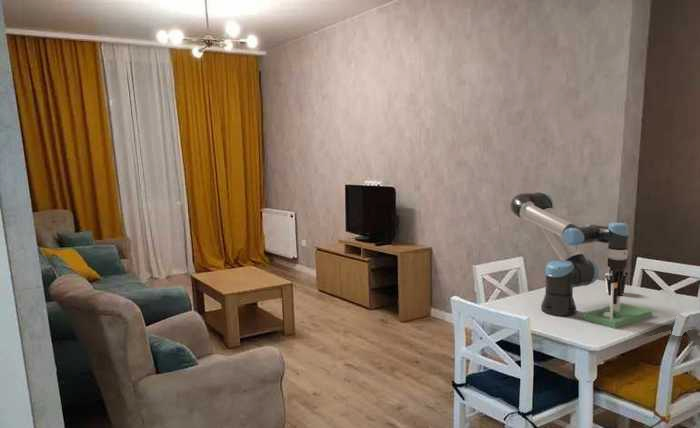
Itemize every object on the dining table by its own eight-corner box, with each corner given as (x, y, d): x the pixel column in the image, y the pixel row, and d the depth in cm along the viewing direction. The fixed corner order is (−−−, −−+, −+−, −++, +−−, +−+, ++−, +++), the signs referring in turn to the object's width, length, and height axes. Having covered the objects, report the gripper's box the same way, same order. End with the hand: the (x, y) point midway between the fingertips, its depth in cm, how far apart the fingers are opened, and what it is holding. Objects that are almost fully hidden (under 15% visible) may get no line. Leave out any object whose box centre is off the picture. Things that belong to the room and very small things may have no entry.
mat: (614, 328, 197) (614, 322, 197) (583, 319, 210) (584, 313, 209) (651, 316, 211) (651, 310, 211) (620, 308, 223) (620, 302, 223)
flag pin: (611, 320, 199) (613, 284, 198) (609, 320, 200) (610, 283, 198) (616, 319, 201) (618, 282, 199) (614, 318, 202) (615, 282, 200)
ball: (610, 321, 208) (604, 323, 206) (604, 313, 210) (599, 315, 208) (616, 317, 205) (611, 319, 203) (611, 309, 207) (605, 311, 205)
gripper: (617, 261, 200) (615, 315, 203) (634, 257, 206) (632, 310, 209) (600, 258, 206) (598, 310, 209) (617, 255, 213) (615, 305, 215)
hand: (615, 310), depth 209 cm, fingers closed
